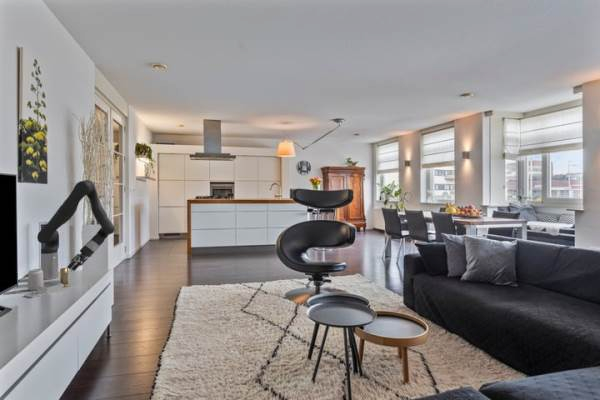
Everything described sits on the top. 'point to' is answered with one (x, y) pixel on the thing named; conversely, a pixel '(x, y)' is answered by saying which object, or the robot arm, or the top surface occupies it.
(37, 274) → the can
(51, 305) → the top surface
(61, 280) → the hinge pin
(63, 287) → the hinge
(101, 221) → the robot arm
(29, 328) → the top surface
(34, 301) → the top surface
